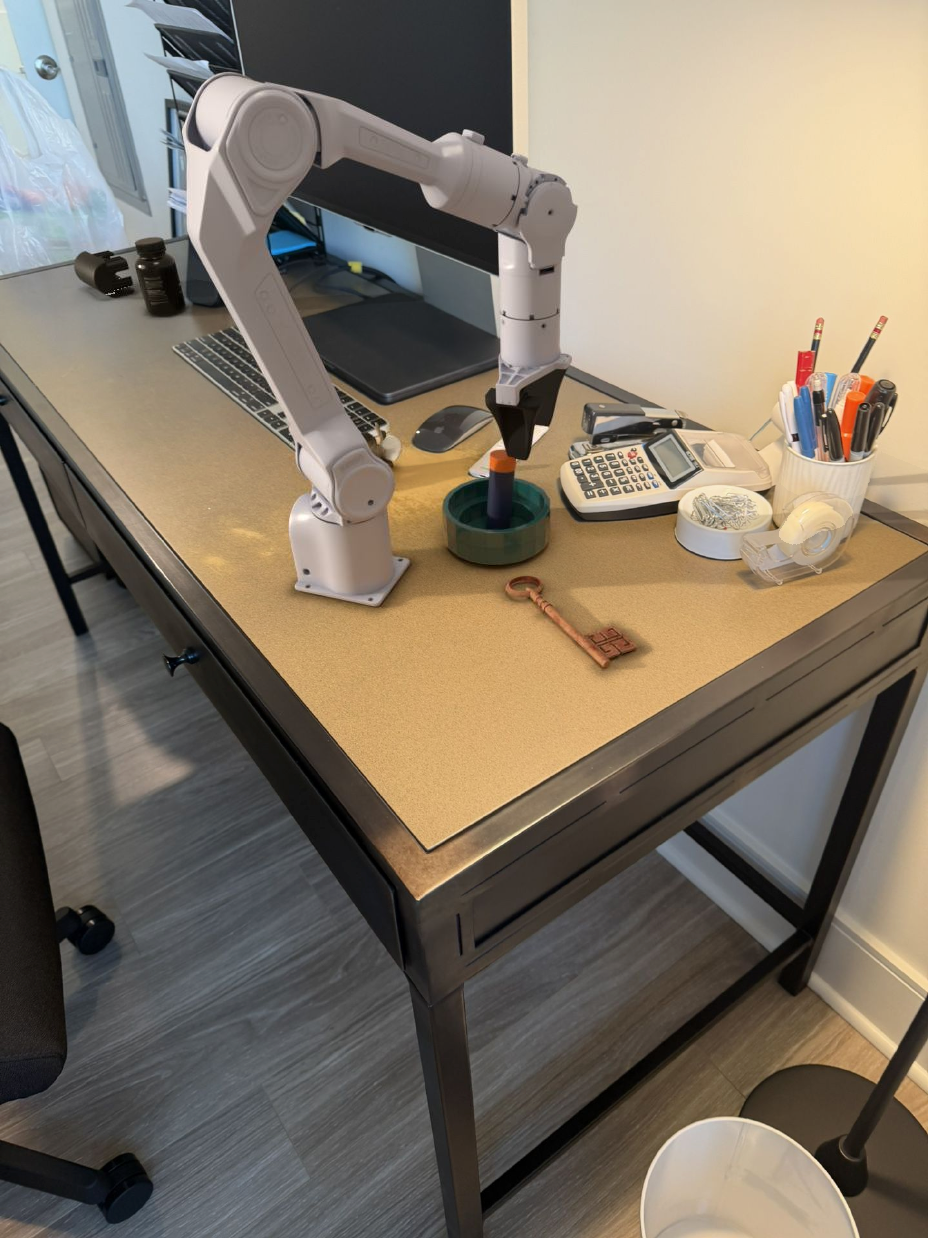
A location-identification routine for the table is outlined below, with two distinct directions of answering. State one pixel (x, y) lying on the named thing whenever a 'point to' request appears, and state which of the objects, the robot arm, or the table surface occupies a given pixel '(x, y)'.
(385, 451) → the eagle figurine
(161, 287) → the supplement bottle
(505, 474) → the glue stick
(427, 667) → the table surface
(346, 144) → the robot arm
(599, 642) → the key
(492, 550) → the bowl
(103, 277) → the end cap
